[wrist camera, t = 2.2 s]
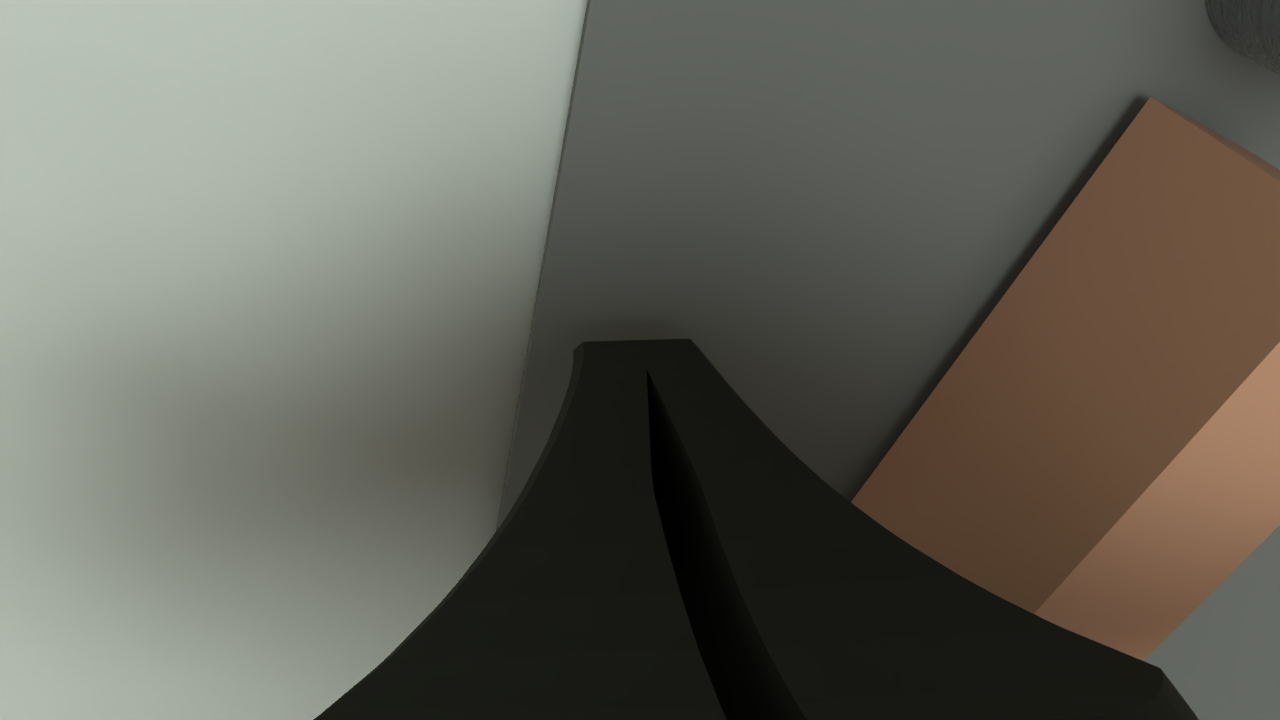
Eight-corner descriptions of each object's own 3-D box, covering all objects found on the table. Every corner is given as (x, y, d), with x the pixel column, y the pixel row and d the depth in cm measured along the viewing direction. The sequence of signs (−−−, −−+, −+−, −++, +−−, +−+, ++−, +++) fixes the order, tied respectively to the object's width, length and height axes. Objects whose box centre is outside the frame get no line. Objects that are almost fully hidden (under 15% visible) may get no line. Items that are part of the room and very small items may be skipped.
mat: (1466, 765, 20) (1478, 778, 20) (465, 709, 17) (464, 724, 17) (2294, -134, 12) (2333, -132, 12) (692, -613, 9) (699, -621, 8)
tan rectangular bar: (1129, 85, 12) (1346, 227, 9) (1272, 163, 12) (1517, 321, 9) (697, 682, 16) (737, 914, 13) (818, 715, 17) (884, 942, 14)
